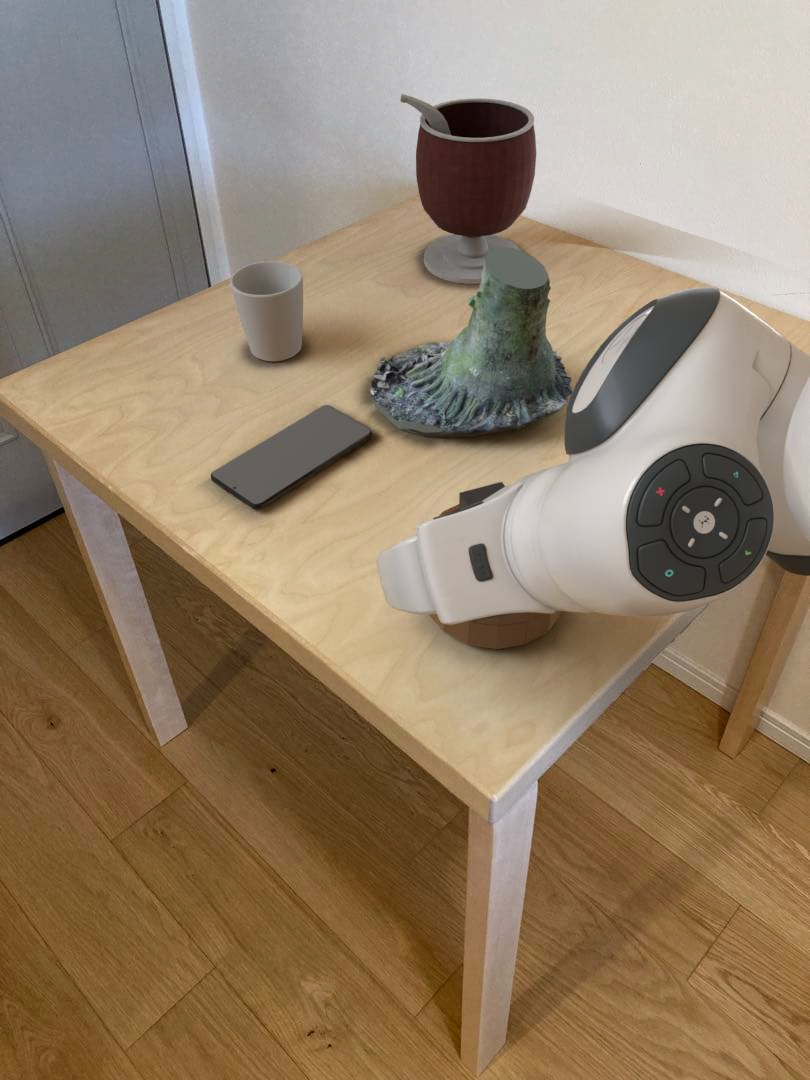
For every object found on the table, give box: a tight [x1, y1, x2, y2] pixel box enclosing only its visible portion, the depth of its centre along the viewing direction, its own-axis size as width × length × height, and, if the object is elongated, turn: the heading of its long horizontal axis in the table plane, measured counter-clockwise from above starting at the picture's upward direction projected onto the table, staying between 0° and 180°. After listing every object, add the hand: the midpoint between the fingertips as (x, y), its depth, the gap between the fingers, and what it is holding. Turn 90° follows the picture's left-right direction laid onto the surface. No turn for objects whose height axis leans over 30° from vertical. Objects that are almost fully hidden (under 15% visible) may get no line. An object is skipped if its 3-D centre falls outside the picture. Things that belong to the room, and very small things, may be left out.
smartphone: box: [210, 404, 373, 511], centre depth 85 cm, size 7×1×15 cm
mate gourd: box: [399, 93, 537, 285], centre depth 105 cm, size 16×14×20 cm
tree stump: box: [369, 247, 573, 438], centre depth 87 cm, size 18×20×18 cm
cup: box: [229, 260, 304, 362], centre depth 97 cm, size 8×10×8 cm
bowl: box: [428, 503, 563, 650], centre depth 70 cm, size 11×11×6 cm
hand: (490, 547), depth 68 cm, fingers closed on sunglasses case, 3 cm apart
